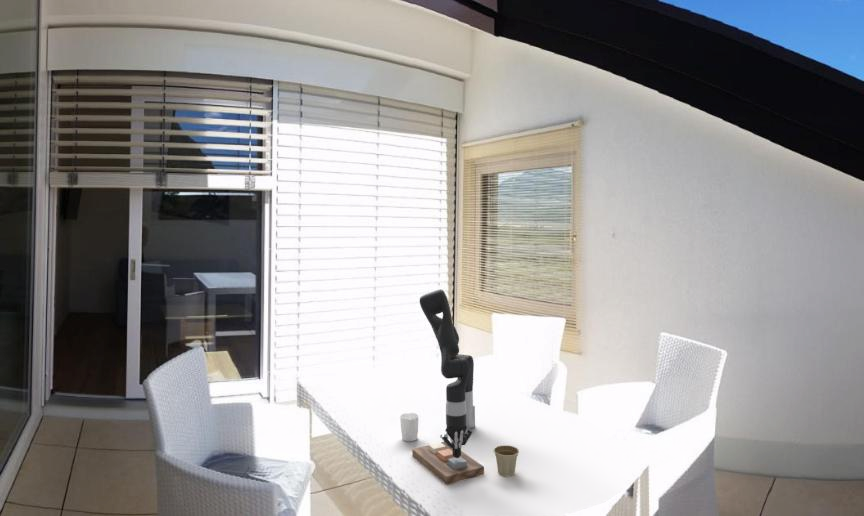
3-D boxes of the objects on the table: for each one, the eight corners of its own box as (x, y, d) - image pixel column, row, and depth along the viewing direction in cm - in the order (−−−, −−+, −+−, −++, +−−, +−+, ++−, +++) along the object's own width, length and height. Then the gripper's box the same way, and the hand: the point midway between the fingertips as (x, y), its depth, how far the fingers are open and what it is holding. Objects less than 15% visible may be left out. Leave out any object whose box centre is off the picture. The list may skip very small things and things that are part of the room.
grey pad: (459, 463, 213) (459, 456, 213) (466, 469, 209) (466, 461, 209) (447, 466, 211) (447, 459, 211) (454, 472, 206) (454, 464, 206)
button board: (447, 447, 233) (447, 440, 233) (484, 474, 208) (484, 466, 208) (412, 456, 226) (412, 448, 225) (446, 484, 201) (446, 476, 201)
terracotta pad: (449, 456, 220) (449, 448, 220) (455, 461, 216) (455, 453, 216) (437, 458, 218) (437, 451, 218) (444, 464, 213) (444, 456, 213)
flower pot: (516, 466, 214) (516, 444, 214) (521, 478, 205) (521, 455, 204) (492, 467, 214) (491, 445, 213) (495, 479, 205) (495, 456, 204)
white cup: (403, 443, 239) (402, 420, 238) (399, 436, 247) (398, 414, 246) (420, 440, 241) (420, 418, 241) (416, 434, 249) (416, 412, 248)
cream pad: (439, 448, 227) (439, 441, 227) (445, 453, 223) (445, 446, 223) (428, 451, 225) (428, 444, 225) (434, 456, 220) (434, 448, 220)
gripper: (466, 405, 215) (466, 450, 216) (435, 411, 209) (436, 457, 210) (476, 411, 208) (477, 457, 209) (445, 418, 202) (446, 464, 203)
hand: (456, 457), depth 210 cm, fingers closed
